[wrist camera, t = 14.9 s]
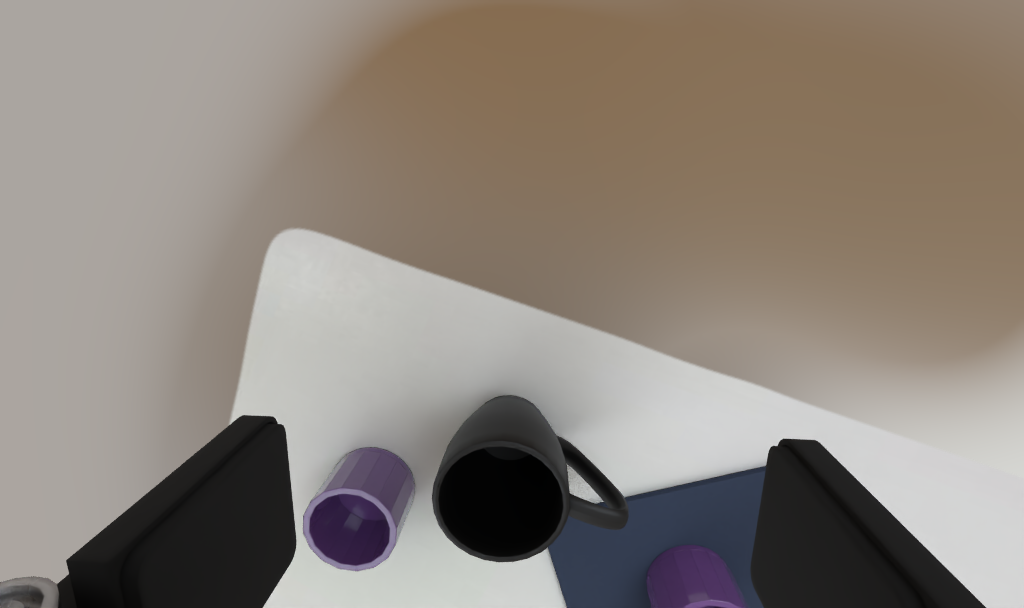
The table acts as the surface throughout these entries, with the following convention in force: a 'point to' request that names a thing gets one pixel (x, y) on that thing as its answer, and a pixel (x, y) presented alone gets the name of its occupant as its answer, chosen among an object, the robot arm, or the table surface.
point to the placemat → (660, 540)
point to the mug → (515, 484)
